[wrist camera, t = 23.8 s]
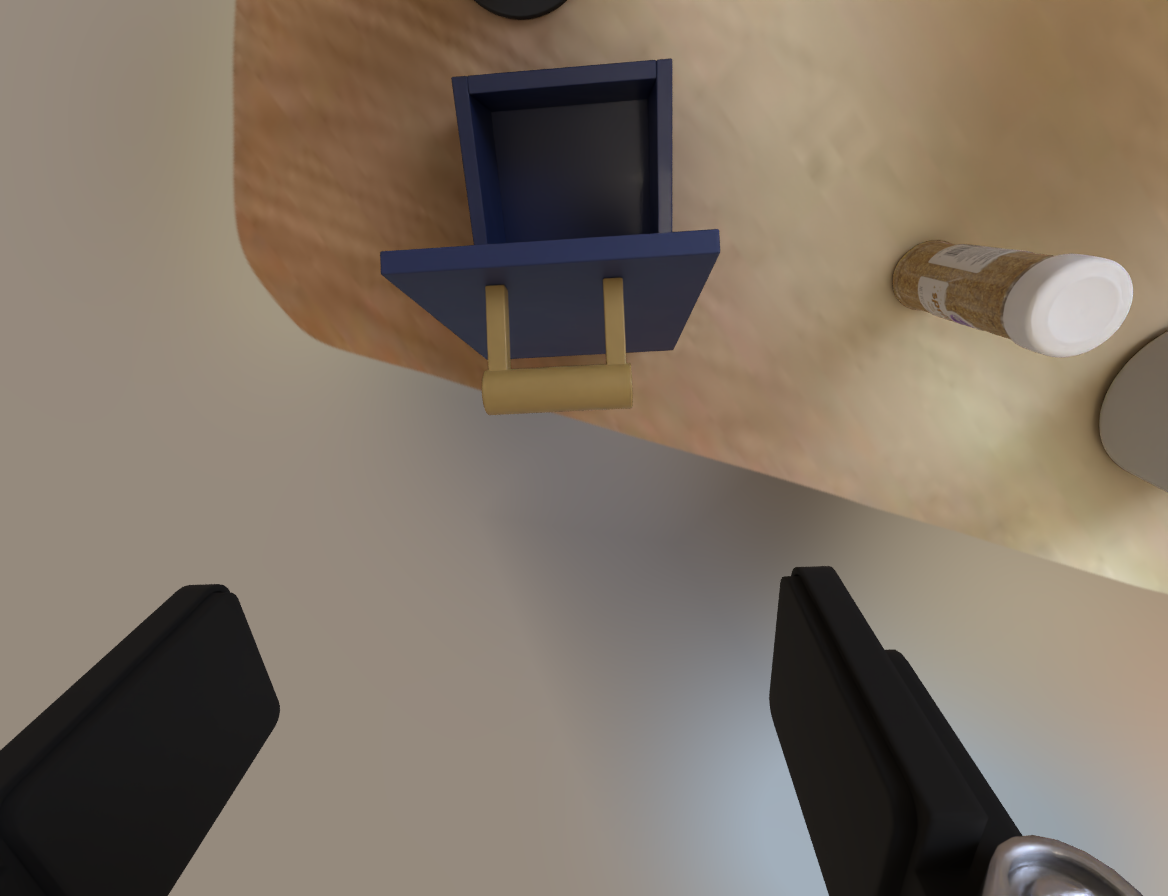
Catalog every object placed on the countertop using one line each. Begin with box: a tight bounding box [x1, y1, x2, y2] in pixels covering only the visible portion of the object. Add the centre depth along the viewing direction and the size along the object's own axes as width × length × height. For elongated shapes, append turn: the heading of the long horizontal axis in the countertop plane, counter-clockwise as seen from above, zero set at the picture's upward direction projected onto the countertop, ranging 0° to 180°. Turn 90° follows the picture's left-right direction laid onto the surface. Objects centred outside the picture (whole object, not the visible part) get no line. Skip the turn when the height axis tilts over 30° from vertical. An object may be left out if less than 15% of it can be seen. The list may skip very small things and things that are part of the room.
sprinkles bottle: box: [893, 240, 1133, 357], centre depth 31 cm, size 5×5×13 cm
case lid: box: [380, 229, 720, 415], centre depth 25 cm, size 15×11×5 cm
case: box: [451, 59, 672, 245], centre depth 33 cm, size 14×11×7 cm
